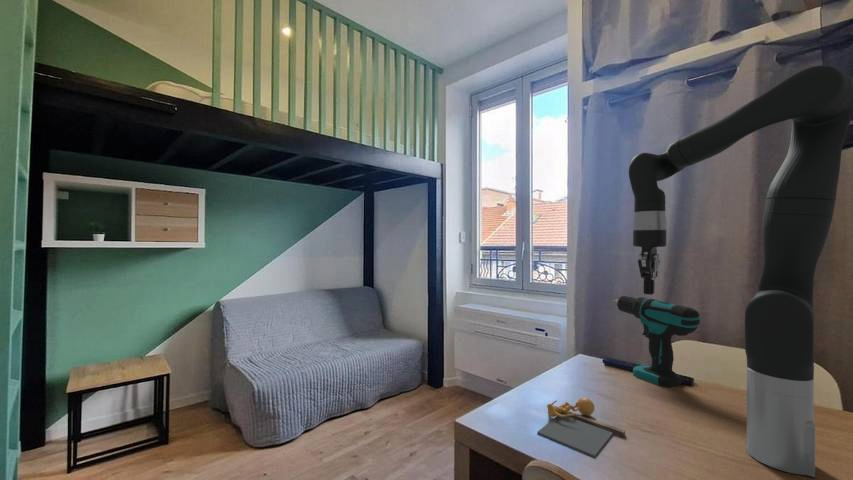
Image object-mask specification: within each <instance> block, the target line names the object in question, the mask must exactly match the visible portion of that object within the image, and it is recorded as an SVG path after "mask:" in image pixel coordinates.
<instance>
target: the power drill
mask: <svg viewBox="0 0 853 480" xmlns="http://www.w3.org/2000/svg"><path fill="white" fill-rule="evenodd" d="M612 302H613V303H615V304H616V306H617V308H618V310H619V311H620V312H624V313H627V314H630V315H633V316H634V317H635V319H639V320H640V324H641V325H642V326H643V332H642V334H641V335H642V336H644V337H645V338H648V351H649V355H650V358H651V360H652V361H651V362H652V363H651V365H643V364H642V365H637V366H634V367H633V368H632V377H633V376H634V377H635V378H638V379H640V380H643V381H646V382H648V383H651V384H655V385H657V386H658V387H663V388H668V389H669V388H674V387H678V386H681V385H682V384H683V383H682V382H683V381H682V379H683V377H681V375H679V374H677V373H676V371H673V365H674V350H673V344H672V337H673V336H674V335H676V336H679V337H683V336H684V337H686V336H687V335H689V334H692V333H694V332H695V331H696V330H697V329H698V327H699V325H700V323H701V319H700V313H699V312H698V311H697V310H696V309H695V308H693V307H690V306H684V305H680V304H673V303H671V302H670V303H669V302H665V301H661V300H657V299H656V298H655V299H654V298H647V297H640V296H639V297H638V298H637V297H633V296H627V295H622V296H620V297H618V298H617V299H613V300H612Z"/></svg>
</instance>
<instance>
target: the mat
mask: <svg viewBox="0 0 853 480" xmlns="http://www.w3.org/2000/svg"><path fill="white" fill-rule="evenodd" d="M561 415H563V414H561ZM537 435H540V436H542V437H544V438H546V439H550V440H551V441H554V442H557V443H559V444H560V445H561V444H562V445H564V446H566V447H569V448H571V449H574V450H576V451H578V452H581V453H583V454H585V455H588V456H590V457H593V458H596V457H597V455H598V454H599V453H600V452H601V450H602V449H603V447H604V446H605V445H606V444H607V443H608V441H609V440H610V439H611V437H613V435H614V434H613V432H611V431H608V430H605V429H602V428H599V427H596V426H594V425H591V424H588V423H585V422H582V421H580V420H577V419H574V418H571V417H564V418H562V417H559V416H555V417H553V418H552V419H551V420H550V421H549V422H548V423H546V424H545V425H544V426H543V427H541V428H540V429H539V430H538V431H537Z"/></svg>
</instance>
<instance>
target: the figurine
mask: <svg viewBox="0 0 853 480" xmlns="http://www.w3.org/2000/svg"><path fill="white" fill-rule="evenodd" d="M557 402H558V400H554V401H552V402H551V403H550V404H549V403H548V404H547V405H546V407H547V414H548V416H549V417H551V418H555V417H556V416H559V417H562V418H564V417H569V416H575V414H574V413H575V412H579V413H580V415H582V416H591V415H593V413H594V412H595V404H594V402H593V401H592V400H591V399H590V398H588V397H581V398H578V399H577V402H576V403H575V404H574V405H572V404H570V403H569V402H568V401H566V402H564V403H563V404H561V405H560V406H557V405H555V403H557ZM569 411H571V412H572V414H567V415H561V413H563V412H564V413H567V412H569Z"/></svg>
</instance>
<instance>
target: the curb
mask: <svg viewBox="0 0 853 480" xmlns="http://www.w3.org/2000/svg"><path fill="white" fill-rule="evenodd" d="M572 412H573V411H571V410H569V412H567V413H564V412H563V413H561V414H563V415H567V414H572ZM573 413H574V414H575V416H569V417H571V418H574V419H577V420H580V421H582V422H585V423H588V424H591V425H594V426H596V427H599V428H602V429H605V430H608V431H611V432H613V435H616V436H619V437H622V438H624V437H625V436H626V430H624V429H622V428H619V427H617V426H613V425H610V424H608V423H606V422H601V421H599V420H596V419H593V418H590V417H587V416H586V415H583V414H579V413H576V412H573Z"/></svg>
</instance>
